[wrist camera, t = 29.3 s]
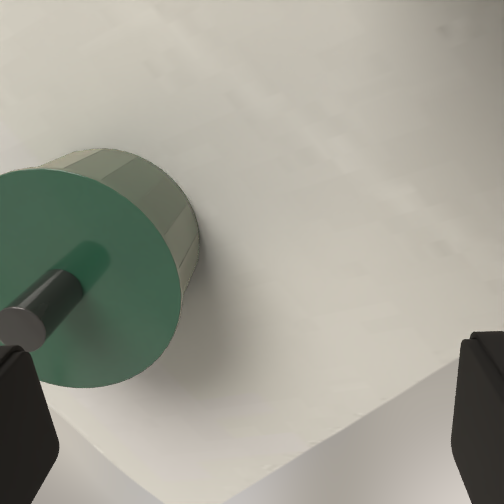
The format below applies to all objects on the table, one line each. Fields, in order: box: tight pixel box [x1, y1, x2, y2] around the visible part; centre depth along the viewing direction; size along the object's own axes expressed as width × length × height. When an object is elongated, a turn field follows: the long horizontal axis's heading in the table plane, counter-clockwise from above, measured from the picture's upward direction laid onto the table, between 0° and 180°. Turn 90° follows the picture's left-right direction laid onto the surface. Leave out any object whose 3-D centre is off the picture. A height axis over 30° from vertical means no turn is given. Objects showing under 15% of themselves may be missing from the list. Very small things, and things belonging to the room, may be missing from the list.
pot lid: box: [0, 167, 183, 388], centre depth 28 cm, size 15×15×6 cm
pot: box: [38, 148, 199, 294], centre depth 34 cm, size 14×14×9 cm
